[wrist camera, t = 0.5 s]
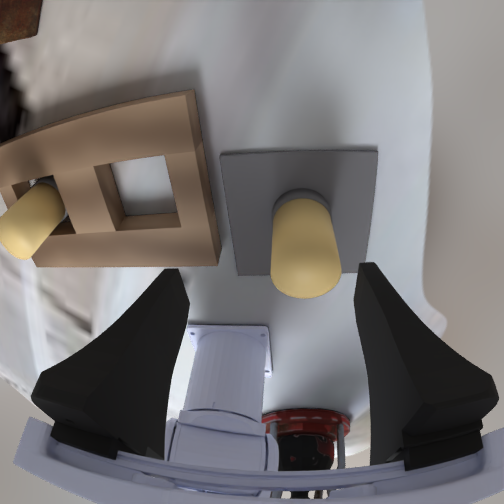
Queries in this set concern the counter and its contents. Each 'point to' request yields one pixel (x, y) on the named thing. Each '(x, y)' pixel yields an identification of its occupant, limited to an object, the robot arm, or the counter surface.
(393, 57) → the counter surface
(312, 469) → the hourglass
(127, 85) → the counter surface
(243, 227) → the mat
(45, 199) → the tan domed cylinder
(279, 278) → the yellow peg
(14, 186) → the socket board
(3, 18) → the brick
